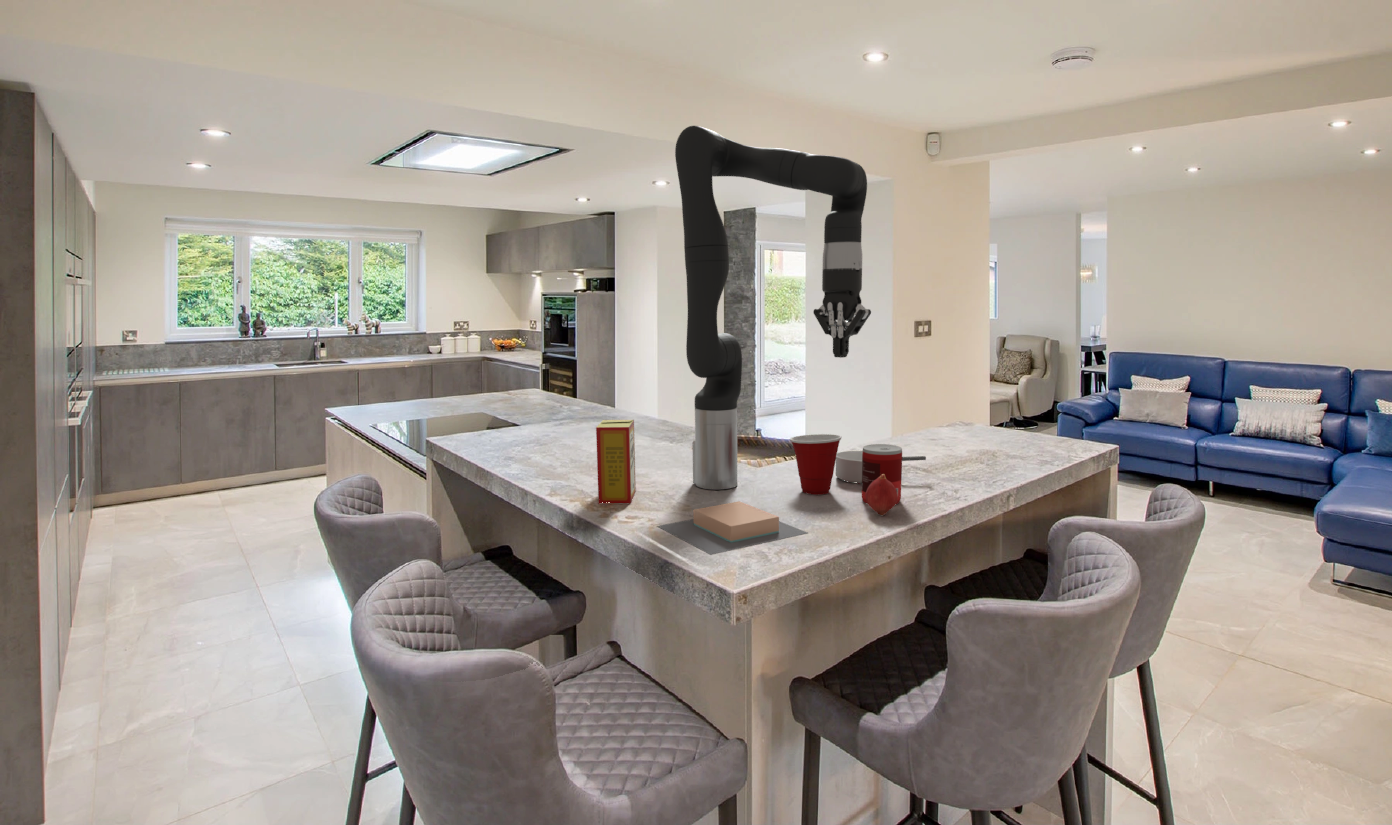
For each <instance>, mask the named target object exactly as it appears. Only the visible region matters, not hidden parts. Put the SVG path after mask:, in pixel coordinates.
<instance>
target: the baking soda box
mask: <svg viewBox="0 0 1392 825" xmlns="http://www.w3.org/2000/svg"><path fill="white" fill-rule="evenodd" d="M595 429H596V430H595V433H596V434H595V435H596V436H595V437H596V462H597V465H596V467H597V470H596V471H597V491H598V492H597V495H598V498H597V500H598V504H599V503H602V502H603V503H606V502H607V503H608V502H610V503H631V504H632V502H633V500H634V496H635V494H636V492H637V491H636V490H637V488H636V455H635V454H636V451H635V449H636V448H635V443H636V442H635V419H602V420H601V422H599V424H598V425H597V426H596V427H595ZM632 499H633V500H632Z"/></svg>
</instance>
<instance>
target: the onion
mask: <svg viewBox="0 0 1392 825" xmlns="http://www.w3.org/2000/svg"><path fill="white" fill-rule="evenodd" d="M865 497H866V501H867V503H868V504H867V505H868V506H869V507H870V509H872V511H874V512H875V513H877V514H878V516H884V515H886V514H887V513H888V512H889V511H890V510H892V509H893V508H894V507H895V506H896V505H897V504H896V503H897V499H898V494H897V491H896V489H895V487H894V485H893V484H892V483H891V482H890V481H888V480H887V479H886V477H885V474H881V476H880V477H878V478H877V479H876V480H874V481H873V482H872V483H871V484H870V485H869V487H868V488H867V491H866V495H865ZM895 504H896V505H895Z"/></svg>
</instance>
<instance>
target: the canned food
mask: <svg viewBox="0 0 1392 825" xmlns="http://www.w3.org/2000/svg"><path fill="white" fill-rule="evenodd" d="M862 451H863V452H862V484H861V499H862V501H863V503H865V504H866V503H867V501H866V497H865V495H866V491H867V488H868V487H869V485H870V484H871V483H872V482H873V481H874V480H876V479H877V478H878V477H880V476H881V474H885V477H886V479H887V480H888V481H890V482H891V483H892V484H893V485H894V487H895V489H896V491H897V494H898V499H897V503H896V505H898V504H900V502H901V499H902V472H903V461H902V457H903V448H902V447H901V446H898V445H895V444H890V443H888V444H885V443H874V444H872V443H871V444H867V445H864V446H862ZM867 505H868V503H867Z"/></svg>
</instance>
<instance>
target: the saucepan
mask: <svg viewBox="0 0 1392 825" xmlns="http://www.w3.org/2000/svg"><path fill="white" fill-rule="evenodd" d="M862 452H863V450H859V449H858V450H841V451H837V455H836V461H835V476H836V477H837V479H840V480H841V479H842V480H841V481H843V480H845V481H848V482H847V483H849V482H857V483H856V484H858V483H862ZM926 460H927V457H926V456H925V455H923V456H921V455H920V456H919V455H918V456H917V455H915V456H914V455H913V456H912V455H911V456H902V462H907V461H908V462H911V461H913V462H914V461H926ZM845 481H844V482H845Z"/></svg>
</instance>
